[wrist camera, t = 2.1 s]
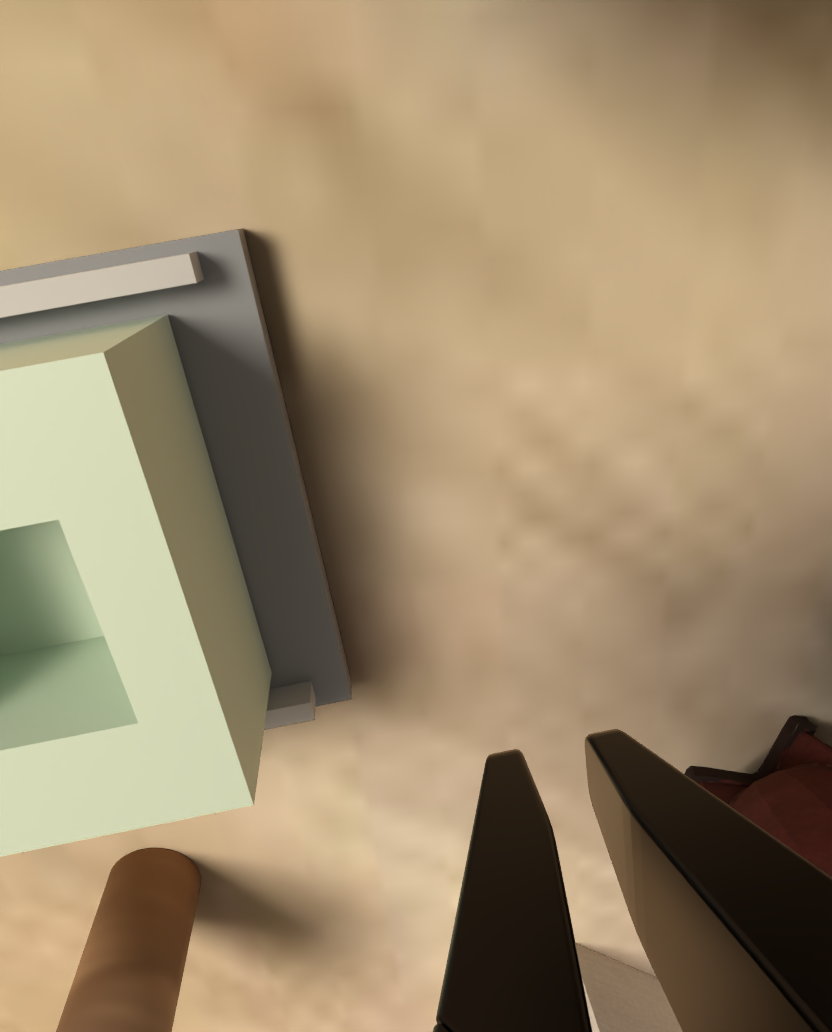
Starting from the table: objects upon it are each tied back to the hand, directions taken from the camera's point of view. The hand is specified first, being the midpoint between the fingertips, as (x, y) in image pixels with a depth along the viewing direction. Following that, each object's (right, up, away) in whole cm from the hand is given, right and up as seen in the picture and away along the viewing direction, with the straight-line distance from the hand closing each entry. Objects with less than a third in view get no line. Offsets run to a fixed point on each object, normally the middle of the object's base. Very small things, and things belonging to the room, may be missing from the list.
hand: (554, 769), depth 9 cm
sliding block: (-10, +2, +10) cm, 14 cm away
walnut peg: (-10, -9, +16) cm, 21 cm away
